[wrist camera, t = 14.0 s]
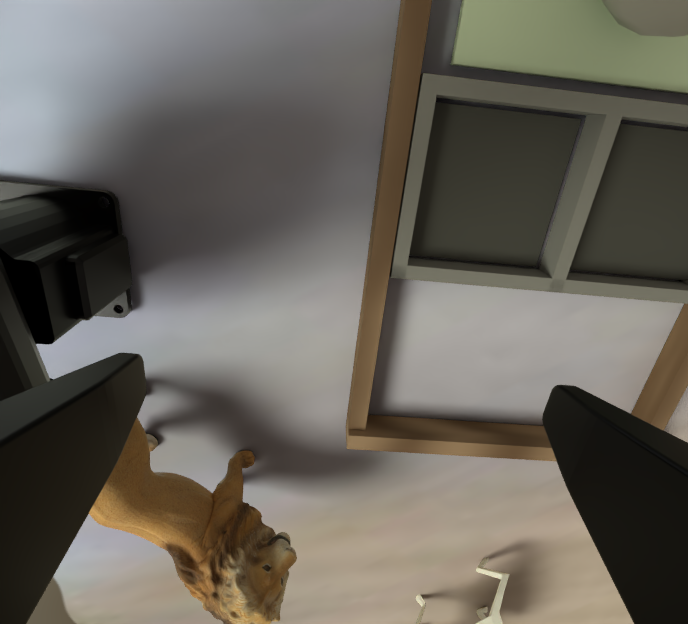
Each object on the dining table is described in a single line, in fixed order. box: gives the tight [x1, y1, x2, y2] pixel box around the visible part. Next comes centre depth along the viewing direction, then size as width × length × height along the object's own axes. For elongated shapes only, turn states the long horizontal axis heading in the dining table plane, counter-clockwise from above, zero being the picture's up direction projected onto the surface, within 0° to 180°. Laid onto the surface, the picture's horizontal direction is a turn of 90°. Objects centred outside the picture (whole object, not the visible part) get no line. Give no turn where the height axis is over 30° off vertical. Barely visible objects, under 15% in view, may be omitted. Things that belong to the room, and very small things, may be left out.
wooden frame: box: [346, 0, 688, 461], centre depth 19 cm, size 19×30×2 cm, turn 174°
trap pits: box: [390, 73, 688, 304], centre depth 20 cm, size 17×9×2 cm, turn 84°
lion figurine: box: [89, 418, 297, 624], centre depth 22 cm, size 15×5×9 cm, turn 56°
